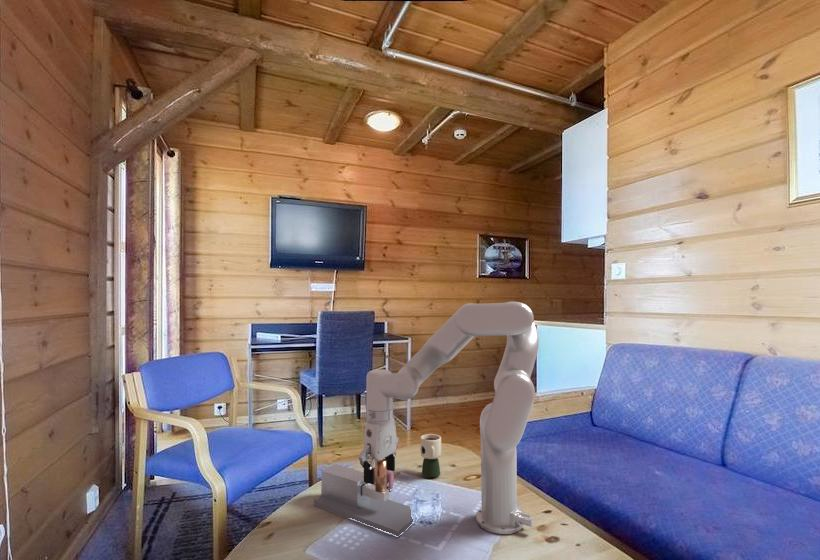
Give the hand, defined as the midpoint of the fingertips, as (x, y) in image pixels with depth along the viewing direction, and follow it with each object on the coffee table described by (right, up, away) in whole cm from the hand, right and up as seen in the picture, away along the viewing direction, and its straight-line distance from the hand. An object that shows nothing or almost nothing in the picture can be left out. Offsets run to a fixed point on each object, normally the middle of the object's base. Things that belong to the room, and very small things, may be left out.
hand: (379, 476), depth 114 cm
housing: (-11, -10, +6) cm, 16 cm away
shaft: (-7, -6, +4) cm, 10 cm away
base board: (-4, -11, +2) cm, 12 cm away
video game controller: (-2, -12, +17) cm, 21 cm away
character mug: (+16, -12, +25) cm, 32 cm away
